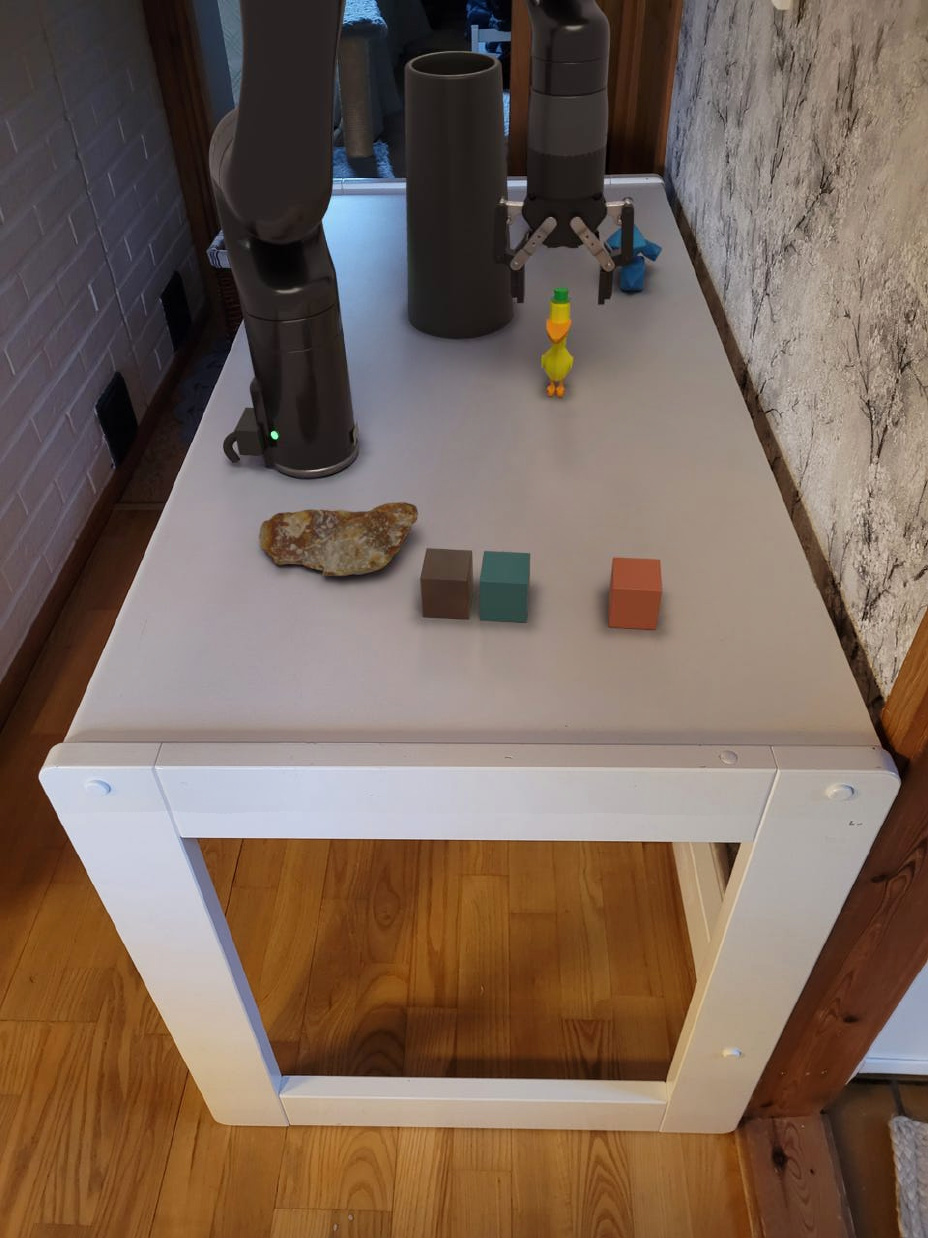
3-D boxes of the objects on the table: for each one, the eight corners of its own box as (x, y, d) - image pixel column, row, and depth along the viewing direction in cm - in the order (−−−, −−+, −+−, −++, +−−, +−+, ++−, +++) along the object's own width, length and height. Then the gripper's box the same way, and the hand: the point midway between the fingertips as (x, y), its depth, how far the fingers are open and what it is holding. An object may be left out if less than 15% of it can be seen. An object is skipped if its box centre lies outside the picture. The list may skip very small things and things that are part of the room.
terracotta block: (608, 627, 81) (613, 588, 78) (608, 595, 84) (612, 556, 81) (656, 630, 81) (662, 590, 78) (654, 598, 84) (660, 559, 80)
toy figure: (568, 409, 106) (574, 307, 98) (536, 407, 107) (539, 305, 98) (573, 378, 111) (579, 279, 103) (542, 376, 112) (546, 277, 103)
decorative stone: (406, 546, 82) (241, 556, 84) (415, 583, 85) (255, 592, 87) (419, 479, 88) (265, 490, 91) (427, 516, 92) (278, 526, 94)
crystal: (665, 214, 128) (665, 228, 118) (657, 281, 133) (656, 300, 122) (610, 211, 129) (605, 225, 119) (604, 278, 134) (598, 296, 124)
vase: (530, 325, 121) (536, 70, 101) (429, 347, 117) (414, 87, 97) (488, 282, 130) (486, 40, 110) (394, 301, 127) (374, 55, 106)
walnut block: (423, 617, 83) (419, 578, 80) (429, 586, 86) (426, 547, 82) (468, 619, 82) (467, 580, 79) (473, 588, 85) (472, 549, 82)
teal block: (480, 620, 82) (479, 581, 79) (484, 589, 85) (483, 550, 82) (526, 622, 82) (527, 583, 79) (529, 591, 85) (530, 552, 82)
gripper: (488, 151, 88) (491, 316, 99) (644, 151, 87) (629, 318, 98) (495, 125, 93) (497, 284, 105) (642, 124, 92) (628, 286, 103)
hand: (561, 300), depth 101 cm, fingers open, 8 cm apart
